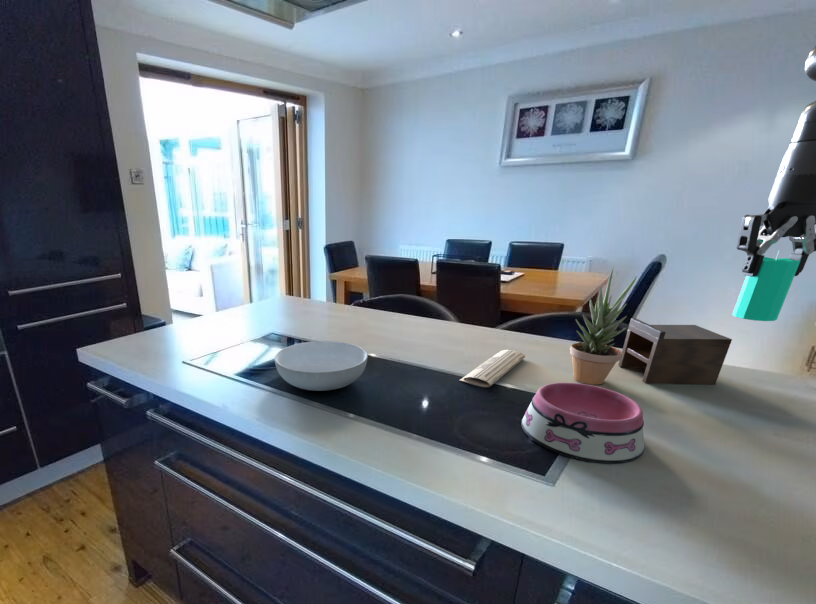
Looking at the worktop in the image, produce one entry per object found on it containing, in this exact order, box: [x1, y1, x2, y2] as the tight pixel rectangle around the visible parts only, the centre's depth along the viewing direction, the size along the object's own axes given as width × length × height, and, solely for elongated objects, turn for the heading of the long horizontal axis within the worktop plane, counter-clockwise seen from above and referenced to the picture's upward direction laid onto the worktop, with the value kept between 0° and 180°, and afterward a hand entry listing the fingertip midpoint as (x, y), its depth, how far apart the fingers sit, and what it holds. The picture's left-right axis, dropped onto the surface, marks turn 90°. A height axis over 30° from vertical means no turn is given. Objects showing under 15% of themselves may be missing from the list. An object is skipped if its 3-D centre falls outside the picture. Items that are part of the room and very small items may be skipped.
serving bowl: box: [274, 340, 368, 392], centre depth 100 cm, size 21×21×7 cm
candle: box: [732, 249, 801, 322], centre depth 79 cm, size 6×6×12 cm
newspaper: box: [458, 349, 526, 388], centre depth 106 cm, size 24×7×2 cm, turn 138°
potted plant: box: [569, 267, 638, 385], centre depth 94 cm, size 10×10×25 cm
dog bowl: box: [520, 382, 645, 464], centre depth 76 cm, size 18×19×7 cm
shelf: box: [618, 317, 733, 386], centre depth 98 cm, size 14×11×12 cm
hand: (770, 275), depth 79 cm, fingers closed on candle, 6 cm apart
